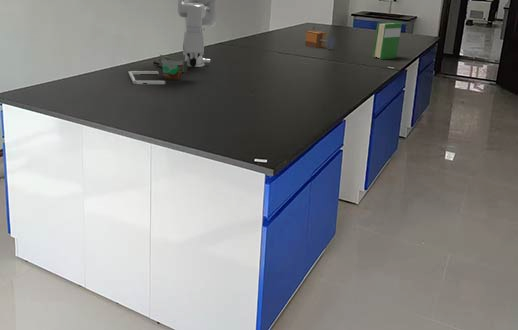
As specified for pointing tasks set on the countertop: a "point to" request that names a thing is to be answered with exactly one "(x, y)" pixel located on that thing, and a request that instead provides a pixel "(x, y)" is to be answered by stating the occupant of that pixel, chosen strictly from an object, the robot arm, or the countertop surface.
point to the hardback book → (387, 40)
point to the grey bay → (144, 81)
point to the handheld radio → (184, 66)
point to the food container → (171, 69)
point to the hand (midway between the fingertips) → (192, 66)
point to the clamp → (318, 39)
